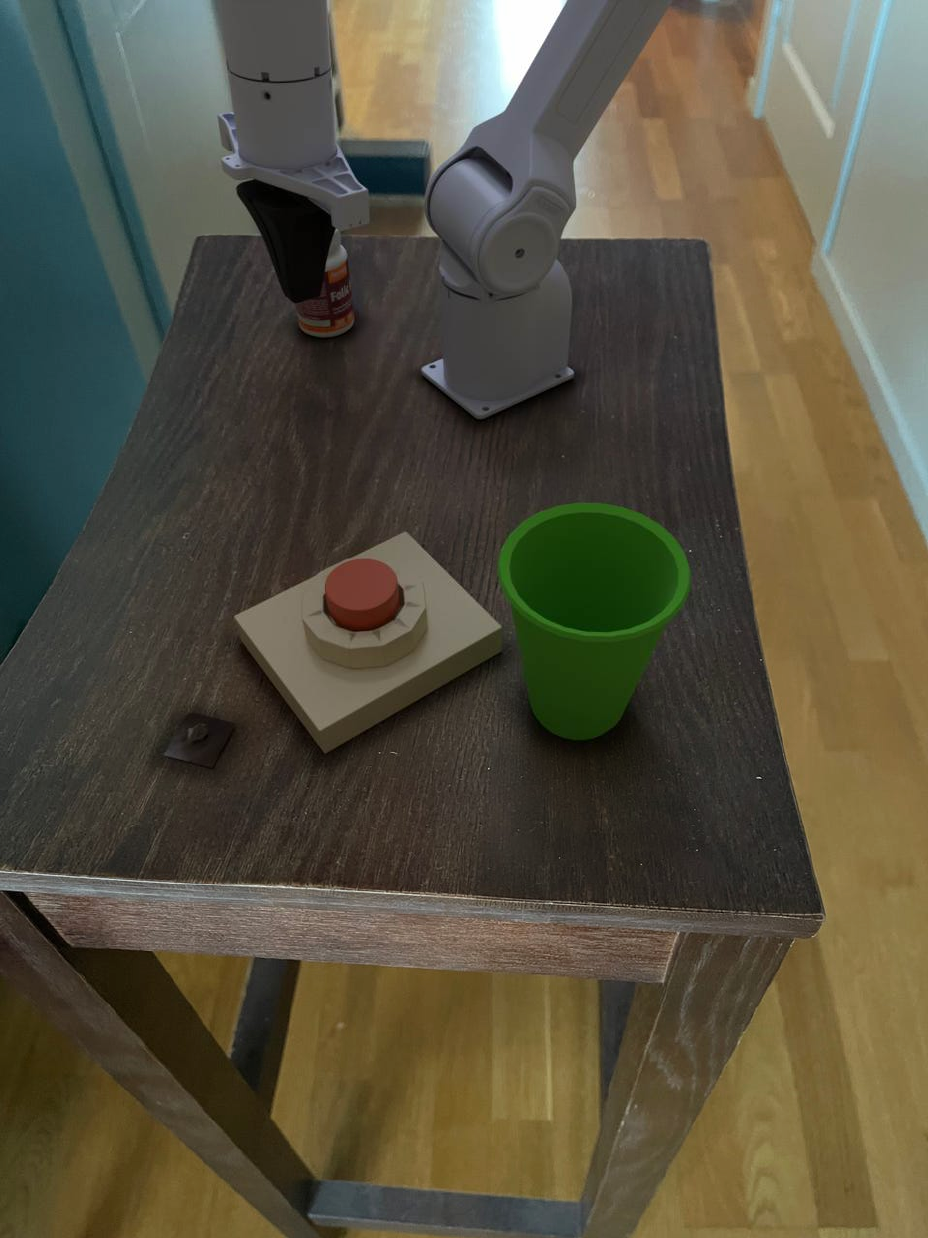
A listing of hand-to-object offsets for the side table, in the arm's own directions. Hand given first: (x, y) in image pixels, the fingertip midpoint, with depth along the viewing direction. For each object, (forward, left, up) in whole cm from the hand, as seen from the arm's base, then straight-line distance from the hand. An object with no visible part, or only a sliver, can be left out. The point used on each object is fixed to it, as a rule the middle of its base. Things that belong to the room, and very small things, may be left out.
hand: (302, 295), depth 61 cm
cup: (+2, +31, -11) cm, 33 cm away
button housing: (+9, +20, -10) cm, 25 cm away
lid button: (+9, +20, -7) cm, 23 cm away
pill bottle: (-7, -12, -11) cm, 18 cm away
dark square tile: (+20, +21, -11) cm, 31 cm away
